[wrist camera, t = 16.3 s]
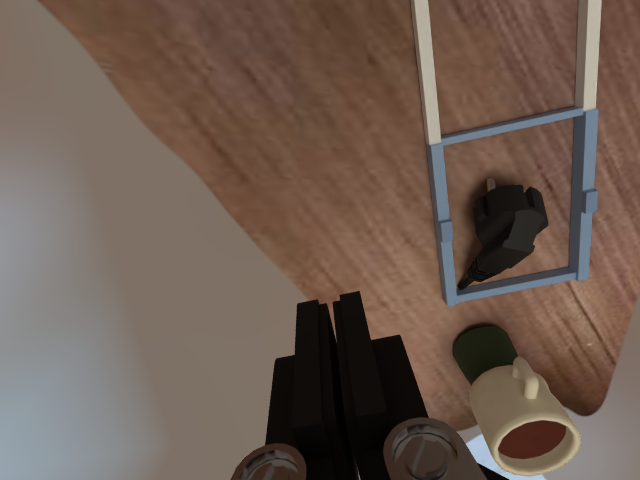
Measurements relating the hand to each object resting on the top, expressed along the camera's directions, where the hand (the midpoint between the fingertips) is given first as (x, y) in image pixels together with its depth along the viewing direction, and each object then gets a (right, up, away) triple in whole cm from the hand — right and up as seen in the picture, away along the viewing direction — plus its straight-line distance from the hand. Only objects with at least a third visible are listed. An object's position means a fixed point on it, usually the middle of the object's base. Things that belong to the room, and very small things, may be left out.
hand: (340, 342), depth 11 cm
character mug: (+17, -9, +34) cm, 39 cm away
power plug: (+15, +3, +29) cm, 33 cm away
